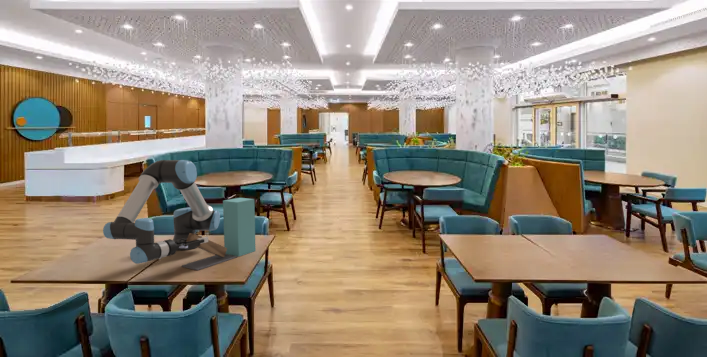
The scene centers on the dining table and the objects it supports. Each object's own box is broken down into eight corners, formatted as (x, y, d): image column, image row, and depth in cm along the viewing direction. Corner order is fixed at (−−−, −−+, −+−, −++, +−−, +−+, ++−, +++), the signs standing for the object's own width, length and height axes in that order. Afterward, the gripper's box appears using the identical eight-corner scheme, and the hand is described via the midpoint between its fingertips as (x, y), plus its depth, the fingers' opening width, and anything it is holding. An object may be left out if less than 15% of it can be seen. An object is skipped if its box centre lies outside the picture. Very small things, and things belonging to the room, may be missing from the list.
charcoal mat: (181, 266, 223) (181, 265, 223) (221, 254, 245) (221, 253, 245) (197, 270, 217) (197, 269, 217) (236, 257, 239) (236, 256, 239)
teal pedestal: (224, 253, 247) (222, 200, 244) (241, 248, 258) (240, 197, 255) (238, 256, 241) (237, 202, 238) (255, 251, 252) (254, 199, 249)
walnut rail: (185, 242, 219) (189, 233, 221) (218, 256, 238) (222, 247, 240) (191, 243, 217) (194, 233, 219) (224, 257, 236) (227, 248, 238)
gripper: (153, 253, 212) (193, 243, 232) (176, 259, 203) (216, 247, 223) (153, 238, 211) (193, 229, 231) (176, 243, 202) (216, 233, 222)
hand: (204, 238), depth 227 cm, fingers closed on walnut rail, 4 cm apart
